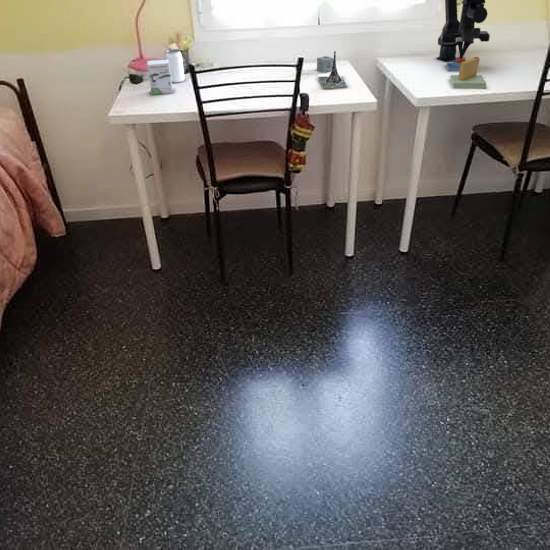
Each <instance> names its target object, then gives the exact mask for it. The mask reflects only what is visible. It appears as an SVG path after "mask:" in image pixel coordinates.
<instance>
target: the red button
mask: <svg viewBox="0 0 550 550" xmlns="http://www.w3.org/2000/svg"><path fill="white" fill-rule="evenodd" d="M456 58H457V59H456V62H458V63H461V62H464V61H465V60H467V59H466V57H464V56H463V58H460V56H458V57H456Z"/></svg>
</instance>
